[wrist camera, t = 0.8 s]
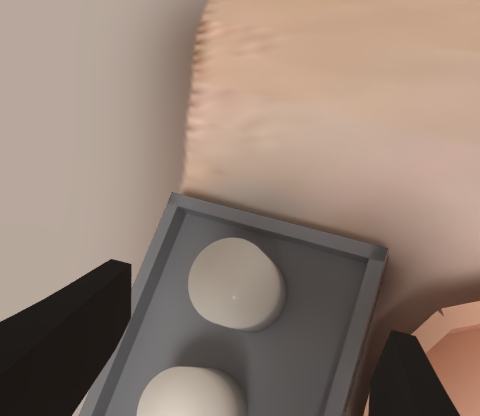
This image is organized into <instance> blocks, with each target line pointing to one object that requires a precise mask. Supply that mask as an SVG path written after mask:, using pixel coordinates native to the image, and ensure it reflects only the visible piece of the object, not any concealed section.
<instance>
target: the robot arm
mask: <svg viewBox="0 0 480 416" xmlns="http://www.w3.org/2000/svg"><path fill="white" fill-rule="evenodd" d="M130 320H131V264H129V263H125V262H121V261H117V260H113V259H111V260H109V261H108V262H105V263H104V264H102V265H101V266H99V267H97V268H96V269H94V270H92V271H90V272H89V273H87V274H86V275H84V276H82V277H81V278H79V279H77V280H76V281H74V282H72V283H71V284H69V285H68V286H66V287H64V288H62V289H61V290H59V291H57V292H55V293H54V294H52V295H50V296H49V297H47V298H45V299H43V300H41V301H40V302H38V303H36V304H34V305H32V306H30V307H28V308H26V309H25V310H22V311H21V312H19V313H17V314H15V315H13V316H11V317H9V318H7V319H5V320H3V321H1V322H0V416H72V414H73V413H74V411H75V410H76V408H77V407H78V405H79V404H80V403H81V401H82V400H83V398H84V396H85V395H86V394H87V392H88V390H89V389H90V388H91V386H92V385H93V383H94V382H95V380H96V379H97V377H98V376H99V374H100V373H101V371H102V370H103V368H104V367H105V365H106V364H107V362H108V360H109V359H110V357H111V356H112V354H113V353H114V351H115V350H116V348H117V346H118V344H119V342H120V340H121V338H122V336H123V334H124V332H125V330H126V328H127V326H128V324H129V322H130ZM368 416H460V414H459V412H458V411H457V409H456V407H455V406H454V404H453V402H452V401H451V399H450V397H449V396H448V394H447V392H446V390H445V389H444V387H443V385H442V383H441V381H440V380H439V378H438V376H437V374H436V372H435V370H434V369H433V367H432V365H431V363H430V361H429V359H428V357H427V355H426V354H425V352H424V350H423V348H422V346H421V344H420V342H419V340H418V339H417V337H416V336H414V335H410V334H406V333H402V332H398V331H394V330H391V333H390V335H389V338H388V340H387V342H386V345H385V347H384V350H383V352H382V355H381V357H380V359H379V362H378V364H377V367H376V369H375V372H374V374H373V376H372V379H371V381H370V391H369V413H368Z"/></svg>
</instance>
